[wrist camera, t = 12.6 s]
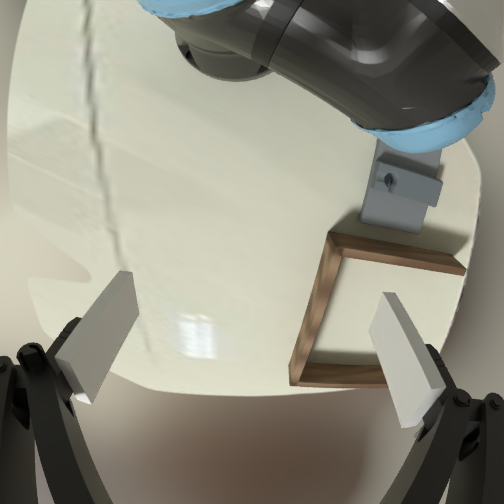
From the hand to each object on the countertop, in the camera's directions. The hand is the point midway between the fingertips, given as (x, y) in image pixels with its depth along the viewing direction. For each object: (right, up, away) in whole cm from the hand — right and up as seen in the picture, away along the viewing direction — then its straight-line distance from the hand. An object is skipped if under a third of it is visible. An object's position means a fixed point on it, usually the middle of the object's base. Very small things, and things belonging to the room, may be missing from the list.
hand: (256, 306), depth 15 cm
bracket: (+21, +12, +21) cm, 32 cm away
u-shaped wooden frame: (+20, -8, +31) cm, 38 cm away
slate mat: (+21, +13, +21) cm, 32 cm away
